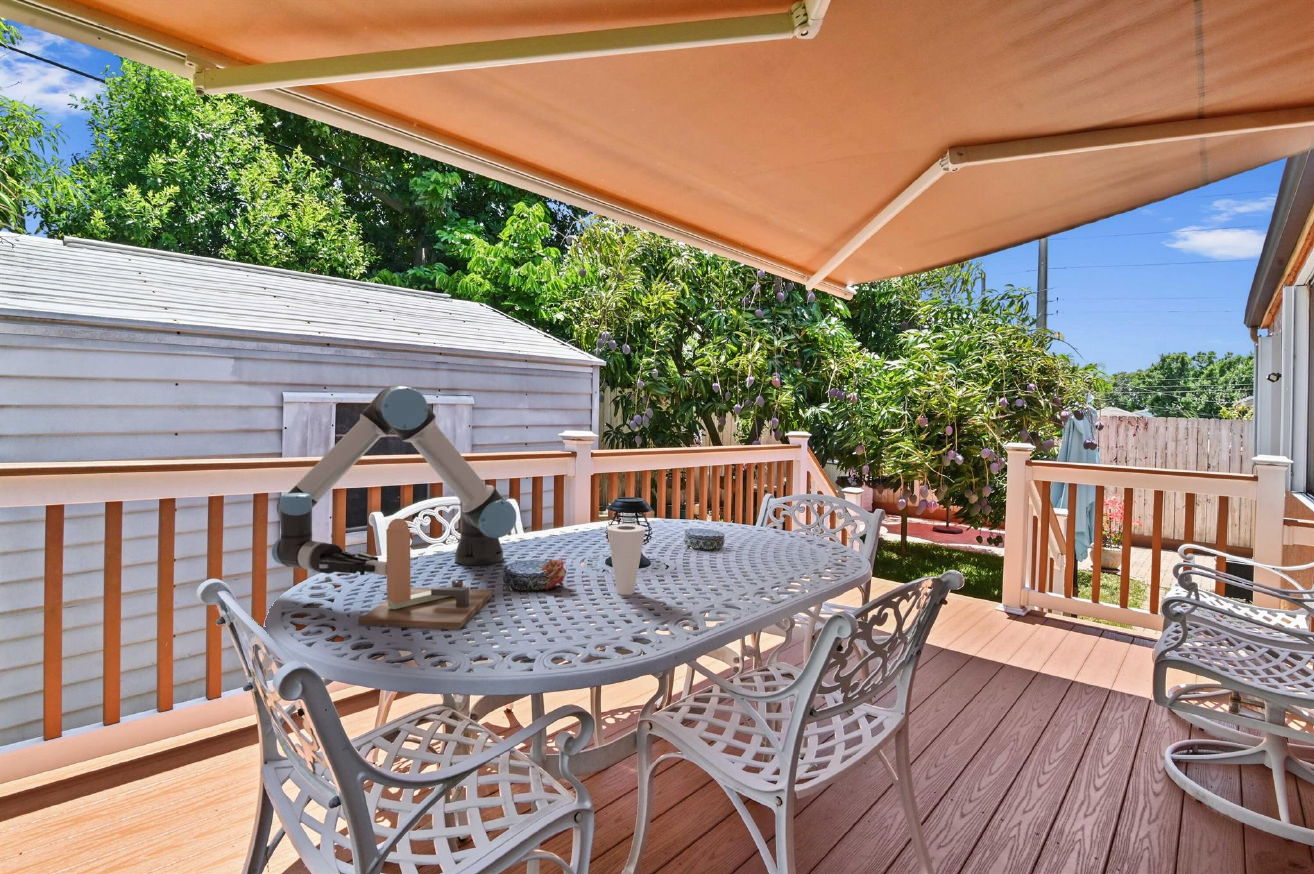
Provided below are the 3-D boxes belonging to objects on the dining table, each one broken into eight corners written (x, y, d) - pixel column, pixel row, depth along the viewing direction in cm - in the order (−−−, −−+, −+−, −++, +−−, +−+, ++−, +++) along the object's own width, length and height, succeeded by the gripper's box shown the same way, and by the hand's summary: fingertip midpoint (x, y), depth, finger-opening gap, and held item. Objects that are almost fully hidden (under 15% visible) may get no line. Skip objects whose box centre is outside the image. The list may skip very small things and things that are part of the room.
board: (405, 592, 185) (405, 587, 185) (493, 595, 184) (493, 590, 184) (358, 625, 159) (358, 619, 159) (460, 629, 158) (459, 622, 158)
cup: (598, 592, 189) (598, 527, 187) (625, 584, 196) (626, 522, 195) (625, 600, 181) (626, 533, 180) (652, 592, 189) (653, 528, 188)
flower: (562, 574, 200) (546, 554, 197) (581, 574, 193) (565, 553, 191) (541, 598, 194) (525, 578, 191) (560, 599, 187) (544, 578, 185)
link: (460, 590, 182) (459, 508, 181) (469, 594, 179) (469, 511, 178) (385, 607, 167) (384, 518, 166) (394, 612, 164) (393, 521, 163)
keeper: (447, 592, 181) (447, 576, 180) (480, 593, 180) (480, 577, 180) (431, 606, 169) (431, 589, 169) (465, 607, 169) (465, 590, 168)
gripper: (343, 565, 184) (408, 578, 174) (298, 577, 172) (365, 591, 162) (343, 538, 183) (408, 548, 173) (298, 548, 171) (365, 559, 161)
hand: (387, 569), depth 167 cm, fingers closed
